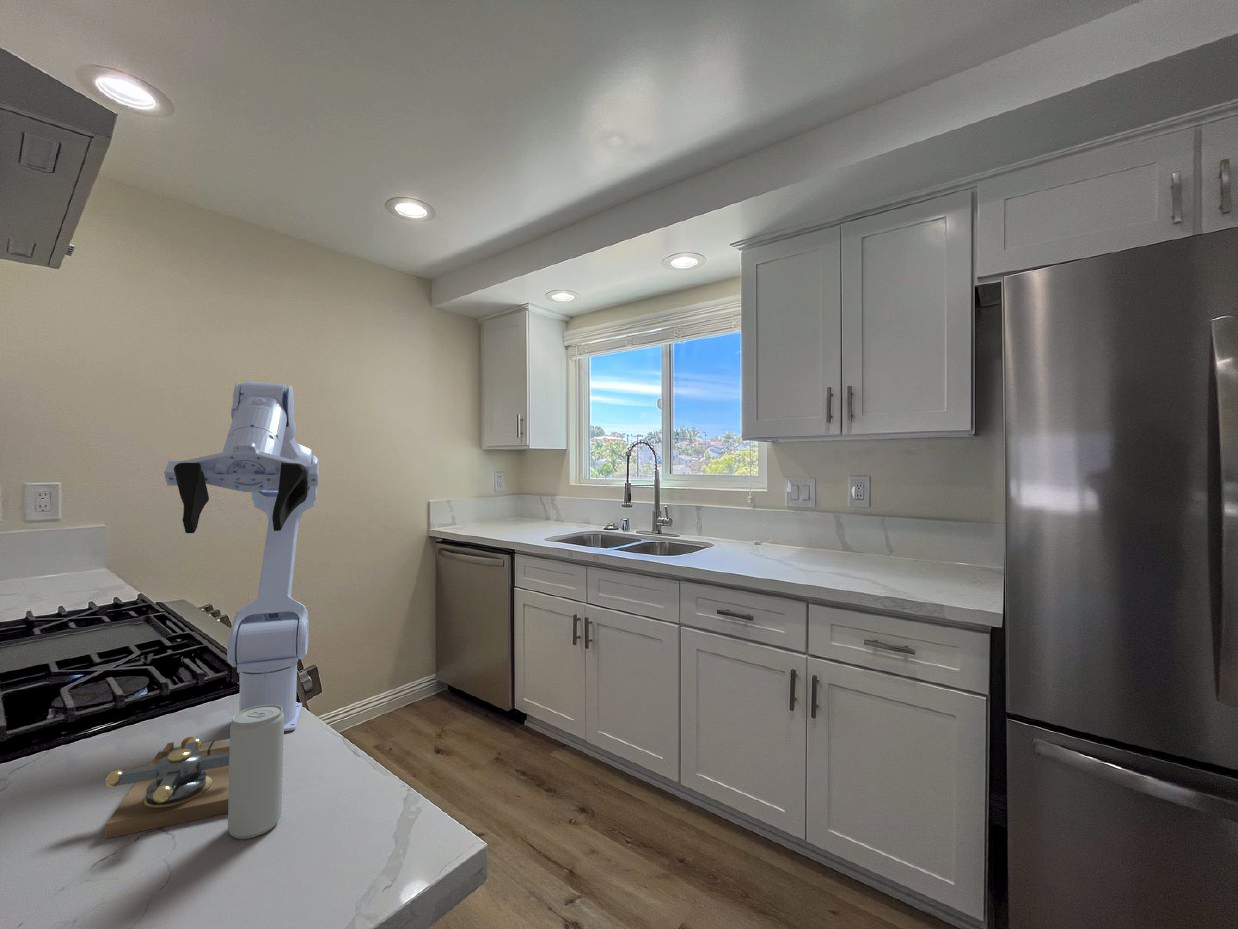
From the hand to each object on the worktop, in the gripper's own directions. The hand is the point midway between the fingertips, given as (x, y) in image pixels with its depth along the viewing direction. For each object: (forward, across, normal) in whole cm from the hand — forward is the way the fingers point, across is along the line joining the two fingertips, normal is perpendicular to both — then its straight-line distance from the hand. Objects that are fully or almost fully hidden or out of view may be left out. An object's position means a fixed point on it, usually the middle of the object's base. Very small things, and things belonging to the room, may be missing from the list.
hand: (233, 525), depth 57 cm
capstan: (+13, -6, +29) cm, 32 cm away
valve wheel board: (+12, -5, +33) cm, 35 cm away
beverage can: (+21, +2, +25) cm, 33 cm away
